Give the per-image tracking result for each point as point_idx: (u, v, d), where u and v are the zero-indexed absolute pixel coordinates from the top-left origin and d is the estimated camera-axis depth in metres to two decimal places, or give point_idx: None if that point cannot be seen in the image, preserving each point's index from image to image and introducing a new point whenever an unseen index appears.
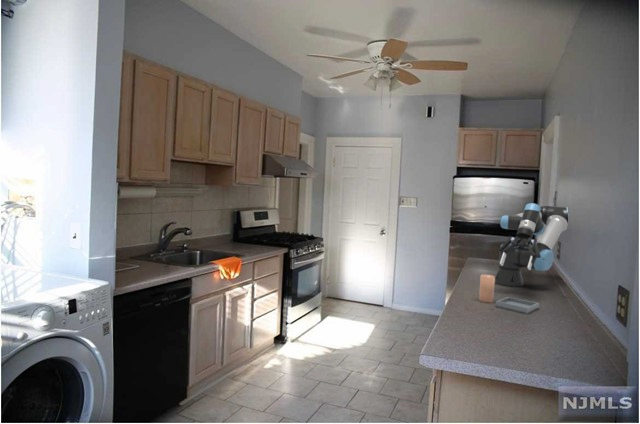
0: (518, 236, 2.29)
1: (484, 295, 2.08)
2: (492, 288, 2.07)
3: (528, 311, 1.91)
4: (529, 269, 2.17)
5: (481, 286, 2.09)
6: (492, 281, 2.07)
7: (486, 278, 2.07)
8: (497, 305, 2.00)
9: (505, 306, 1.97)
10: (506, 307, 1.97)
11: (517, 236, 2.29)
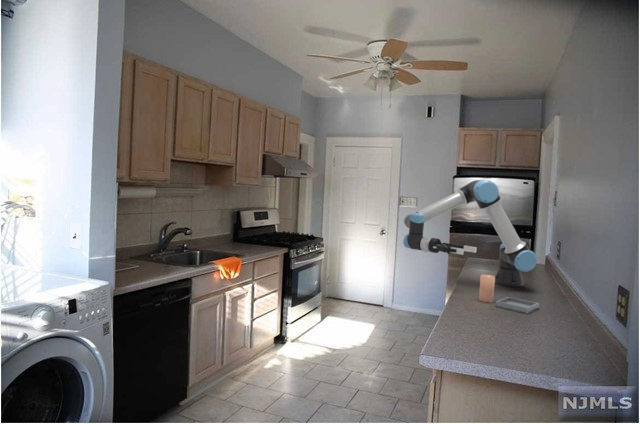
0: None
1: (484, 295, 2.08)
2: (492, 288, 2.07)
3: (528, 311, 1.91)
4: (463, 250, 2.11)
5: (481, 286, 2.09)
6: (492, 281, 2.07)
7: (486, 278, 2.07)
8: (497, 305, 2.00)
9: (505, 306, 1.97)
10: (506, 307, 1.97)
11: None
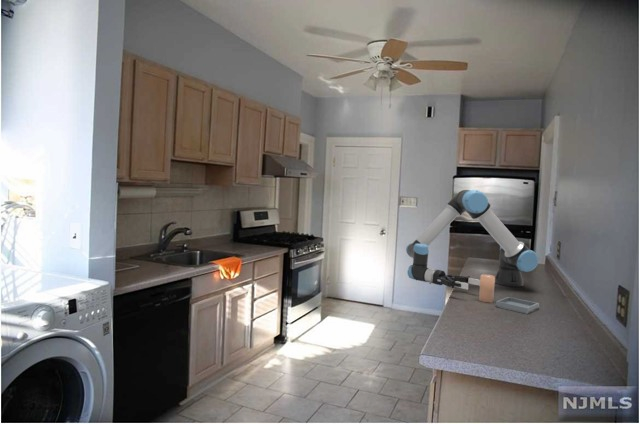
0: None
1: (484, 295, 2.08)
2: (492, 288, 2.07)
3: (528, 311, 1.91)
4: None
5: (481, 286, 2.09)
6: (492, 281, 2.07)
7: (486, 278, 2.07)
8: (497, 305, 2.00)
9: (505, 306, 1.97)
10: (506, 307, 1.97)
11: None
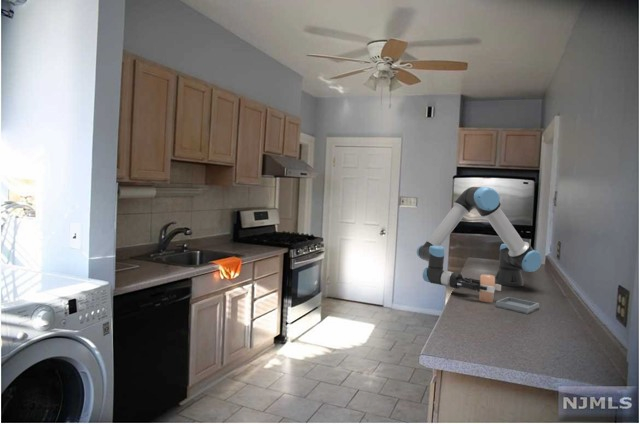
0: None
1: (484, 295, 2.08)
2: None
3: (528, 311, 1.91)
4: (494, 288, 2.04)
5: None
6: (492, 281, 2.07)
7: (486, 278, 2.07)
8: (497, 305, 2.00)
9: (505, 306, 1.97)
10: (506, 307, 1.97)
11: None
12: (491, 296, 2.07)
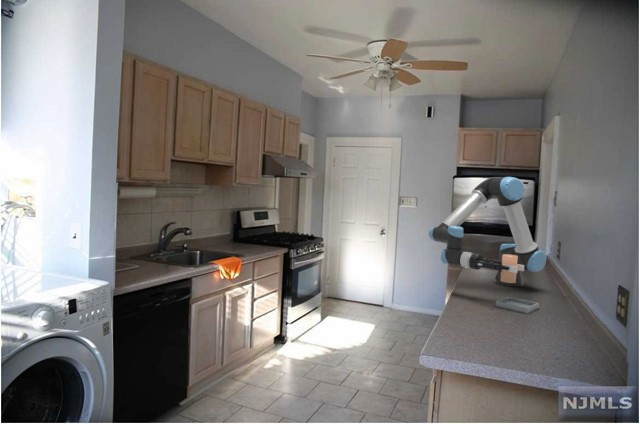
0: None
1: (506, 275, 1.99)
2: None
3: (528, 311, 1.91)
4: (517, 268, 1.96)
5: None
6: (515, 261, 1.99)
7: (508, 257, 1.99)
8: (497, 305, 2.00)
9: (505, 306, 1.97)
10: (506, 307, 1.97)
11: None
12: (514, 276, 1.99)
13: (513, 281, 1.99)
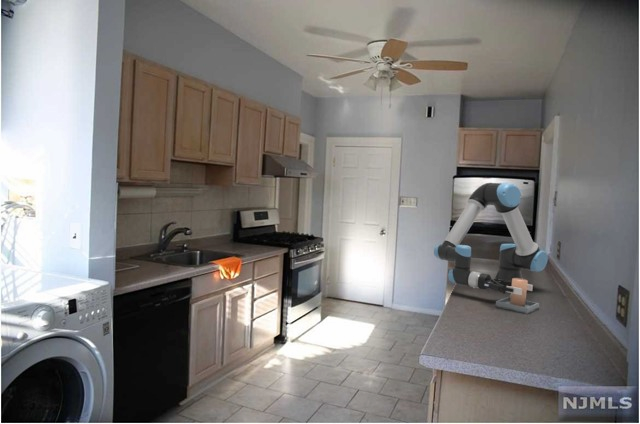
0: None
1: (516, 300, 1.97)
2: (524, 293, 1.97)
3: (528, 311, 1.91)
4: (521, 290, 1.93)
5: None
6: (525, 286, 1.96)
7: (518, 282, 1.96)
8: (497, 305, 2.00)
9: (505, 306, 1.97)
10: (506, 307, 1.97)
11: None
12: (523, 301, 1.97)
13: (522, 306, 1.97)
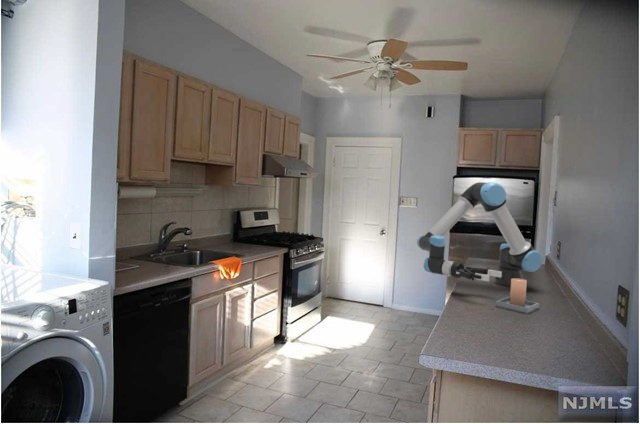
0: None
1: (516, 300, 1.97)
2: (524, 293, 1.97)
3: (528, 311, 1.91)
4: (488, 277, 2.02)
5: (512, 291, 1.99)
6: (524, 285, 1.97)
7: (518, 282, 1.97)
8: (497, 305, 2.00)
9: (505, 306, 1.97)
10: (506, 307, 1.97)
11: None
12: (523, 301, 1.97)
13: (522, 306, 1.97)
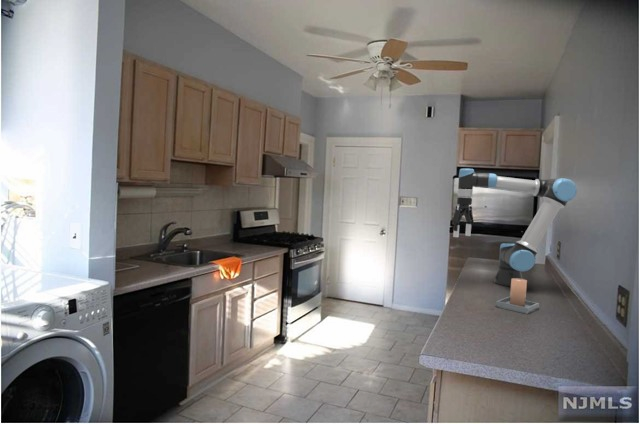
0: None
1: (516, 300, 1.97)
2: (524, 293, 1.97)
3: (528, 311, 1.91)
4: None
5: (512, 291, 1.99)
6: (524, 285, 1.97)
7: (518, 282, 1.97)
8: (497, 305, 2.00)
9: (505, 306, 1.97)
10: (506, 307, 1.97)
11: None
12: (523, 301, 1.97)
13: (522, 306, 1.97)
